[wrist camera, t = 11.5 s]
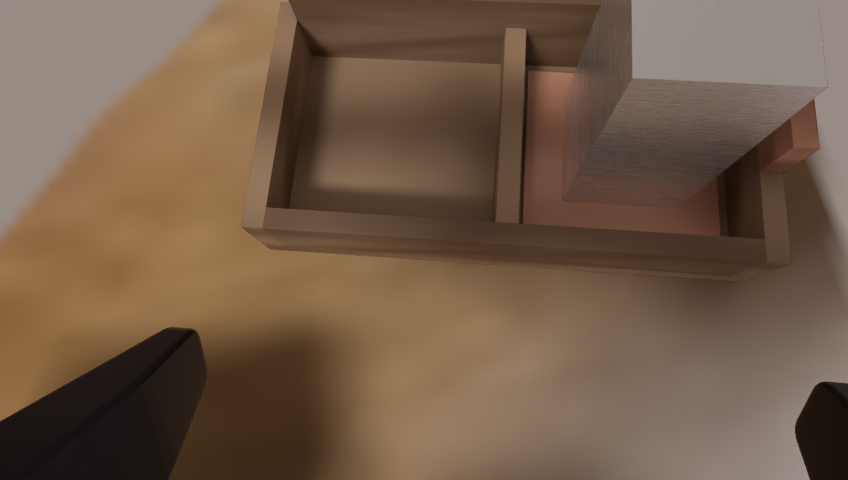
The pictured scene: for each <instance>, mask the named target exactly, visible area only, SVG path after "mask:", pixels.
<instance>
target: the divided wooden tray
mask: <svg viewBox="0 0 848 480" xmlns="http://www.w3.org/2000/svg"><path fill="white" fill-rule="evenodd" d="M601 2H602V0H289V3H282V2H281V3H280V9H279V14H278V20H277V26H276V31H275V37H274V42H273V48H272V54H271V59H270V65H269V71H268V76H267V82H266V88H265V93H264V99H263V105H262V110H261V116H260V122H259V127H258V133H257V138H256V144H255V150H254V155H253V161H252V167H251V172H250V178H249V184H248V189H247V195H246V201H245V206H244V212H243V218H242V223H241V227H242V228H243V229H244V230H246V231H247V232H248V233H250V234H251V235H252V236H254V237H255V238H256V239H258V240H259V241H260V242H262V243H263V244H264V245H266V246H267V247H268V248H270V249H277V250H291V251H305V252H320V253H334V254H349V255H363V256H377V257H392V258H406V259H421V260H435V261H450V262H464V263H478V264H493V265H507V266H522V267H536V268H550V269H565V270H579V271H594V272H608V273H622V274H637V275H651V276H666V277H680V278H695V279H709V280H723V281H738V282H743V281H745V280H748V279H751V278H754V277H756V276H759V275H762V274H764V273H767V272H770V271H773V270H775V269H778V268H781V267H783V266H786V265H789V264H792V262H791V251H790V241H789V230H788V219H787V208H786V197H785V187H784V176H783V172H785V171H787V170H788V169H790V168H791V167H793V166H794V165H796V164H797V163H799V162H800V161H802V160H803V159H805V158H806V157H808V156H810V155H811V154H813V153H814V152H816V151H817V150H819V149H820V146H819V137H818V128H817V119H816V111H815V102H814V99H813V100H812V101H810V102H809V103H808V104H807V105H805V106H804V107H803V108H802V109H800V110H799V111H798V112H797V113H795V114H794V115H793V116H792V117H790V118H789V119H788V120H787V121H785V122H784V123H783V124H782V125H780V126H779V127H778V128H777V129H775V130H774V131H773V132H772V133H770V134H769V135H768V136H767V137H765V138H764V139H763V140H762V141H761V142H759V143H758V144H757V145H756V146H754V147H753V148H752V149H751V150H749V151H748V152H747V153H746V154H744V155H743V156H742V157H741V158H739V159H738V160H737V161H736V162H734V163H733V164H732V165H731V166H729V167H728V168H727V169H726V170H724V171H723V172H722V173H721V174H719V175H718V176H717V177H716V178H714V179H713V180H712V181H711V182H709V183H708V184H707V185H706V186H704V187H703V188H702V189H701V190H700V191H698V192H697V193H696V194H695V195H693V196H692V197H691V198H690V199H688V200H687V201H686V202H685V203H683V204H682V205H681V206H680V207H678V208H677V209H676V208H661V207H645V206H630V205H615V204H599V203H584V202H568V201H562V161H563V120H564V99H565V96H566V94H567V91H568V89H569V86H570V83H571V81H572V78H573V76H574V73H575V70H576V68H577V65H578V62H579V60H580V57H581V55H582V52H583V49H584V47H585V44H586V42H587V39H588V36H589V34H590V31H591V29H592V26H593V23H594V21H595V18H596V15H597V13H598V10H599V8H600V5H601Z"/></svg>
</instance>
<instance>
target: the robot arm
mask: <svg viewBox="0 0 848 480" xmlns="http://www.w3.org/2000/svg"><path fill="white" fill-rule="evenodd" d="M206 380H207V366H206V362H205V358H204V354H203V349H202V345H201V341H200V337H199V334H198V333H197V331H195V330H193V329H190V328H178V327H169V328H166V329H164V330H162V331H160V332H158V333H157V334H155V335H153V336H151V337H149V338H148V339H146V340H144V341H142V342H141V343H139V344H137V345H135V346H133V347H132V348H130V349H128V350H126V351H125V352H123V353H121V354H119V355H117V356H116V357H114V358H112V359H110V360H109V361H107V362H105V363H103V364H101V365H100V366H98V367H96V368H94V369H93V370H91V371H89V372H87V373H85V374H84V375H82V376H80V377H78V378H77V379H75V380H73V381H71V382H69V383H68V384H66V385H64V386H62V387H60V388H59V389H57V390H55V391H53V392H52V393H50V394H48V395H46V396H44V397H43V398H41V399H39V400H37V401H36V402H34V403H32V404H30V405H28V406H27V407H25V408H23V409H21V410H20V411H18V412H16V413H14V414H12V415H11V416H9V417H7V418H5V419H3V420H2V421H0V480H168V479H169V477H170V475H171V472H172V470H173V468H174V465H175V463H176V460H177V458H178V455H179V452H180V450H181V447H182V445H183V442H184V439H185V437H186V434H187V432H188V429H189V426H190V424H191V421H192V419H193V416H194V413H195V411H196V408H197V405H198V403H199V400H200V398H201V395H202V392H203V390H204V387H205V384H206ZM795 434H796V439H797V443H798V446H799V449H800V452H801V454H802V457H803V460H804V463H805V466H806V469H807V472H808V475H809V478H810V480H848V383H836V382H821V383H819V384H817V385H816V386H815V387H814V389H813V390H812V392H811V394H810V396H809V398H808V400H807V402H806V404H805V406H804V408H803V409H802V411H801V413H800V415H799V417H798V419H797V422H796V426H795Z"/></svg>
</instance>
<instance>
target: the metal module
mask: <svg viewBox="0 0 848 480" xmlns="http://www.w3.org/2000/svg"><path fill="white" fill-rule="evenodd" d="M827 88H828V84H827V75H826V66H825V57H824V49H823V40H822V32H821V23H820V14H819V5H818V0H602V2H601V5H600V8H599V10H598V13H597V15H596V18H595V21H594V23H593V26H592V29H591V31H590V34H589V36H588V39H587V42H586V44H585V47H584V49H583V52H582V55H581V57H580V60H579V62H578V65H577V68H576V70H575V73H574V76H573V78H572V81H571V83H570V86H569V89H568V91H567V94H566V96H565V99H564V120H563V161H562V201H568V202H584V203H599V204H615V205H630V206H645V207H661V208H676V209H677V208H678V207H680V206H681V205H682V204H683V203H685V202H686V201H687V200H688V199H690V198H691V197H692V196H693V195H695V194H696V193H697V192H698V191H700V190H701V189H702V188H703V187H704V186H706V185H707V184H708V183H709V182H711V181H712V180H713V179H714V178H716V177H717V176H718V175H719V174H721V173H722V172H723V171H724V170H726V169H727V168H728V167H729V166H731V165H732V164H733V163H734V162H736V161H737V160H738V159H739V158H741V157H742V156H743V155H744V154H746V153H747V152H748V151H749V150H751V149H752V148H753V147H754V146H756V145H757V144H758V143H759V142H761V141H762V140H763V139H764V138H765V137H767V136H768V135H769V134H770V133H772V132H773V131H774V130H775V129H777V128H778V127H779V126H780V125H782V124H783V123H784V122H785V121H787V120H788V119H789V118H790V117H792V116H793V115H794V114H795V113H797V112H798V111H799V110H800V109H802V108H803V107H804V106H805V105H807V104H808V103H809V102H810V101H812V100H813V99H814V98H815V97H817V96H818V95H819V94H820V93H822V92H823V91H824V90H825V89H827Z"/></svg>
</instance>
